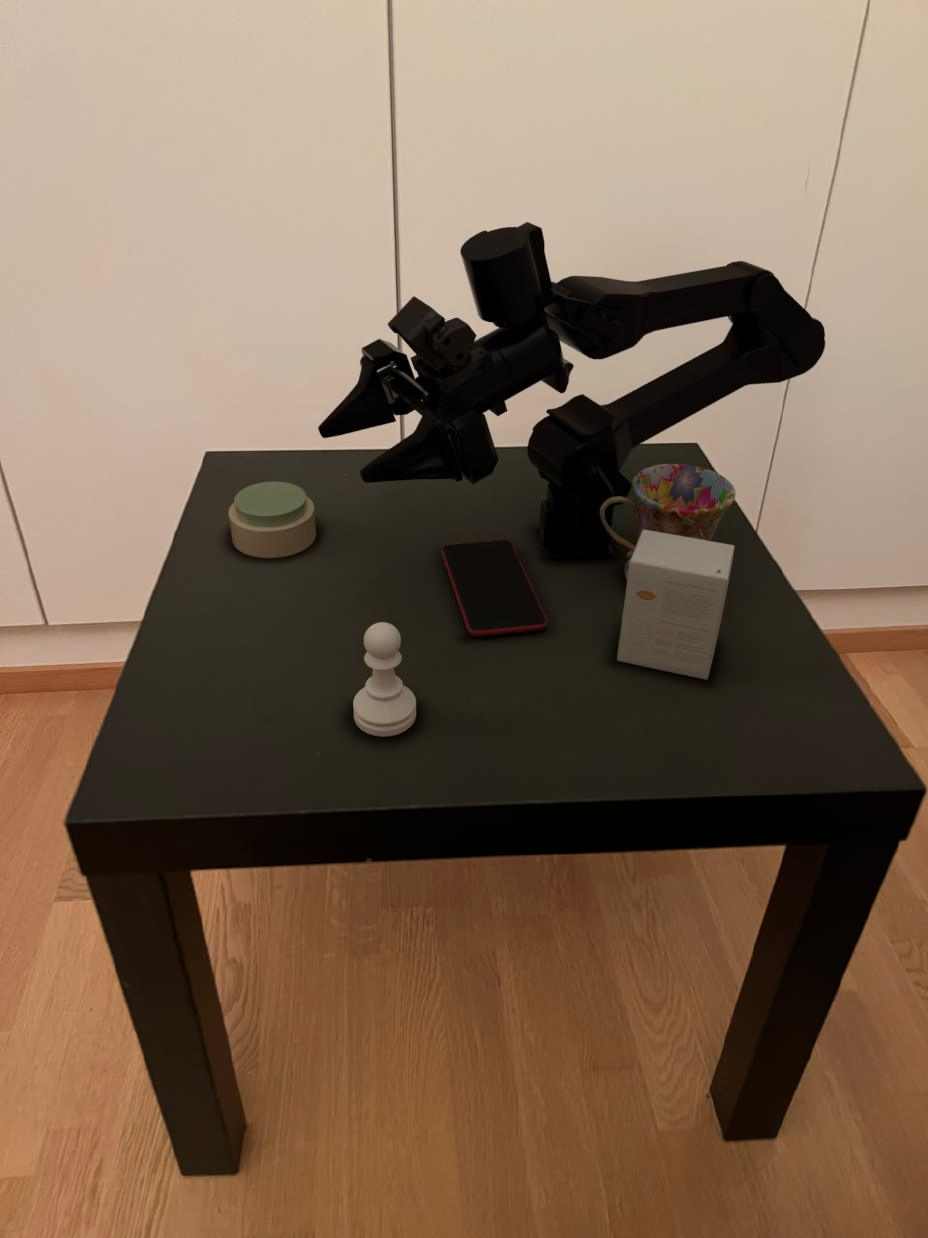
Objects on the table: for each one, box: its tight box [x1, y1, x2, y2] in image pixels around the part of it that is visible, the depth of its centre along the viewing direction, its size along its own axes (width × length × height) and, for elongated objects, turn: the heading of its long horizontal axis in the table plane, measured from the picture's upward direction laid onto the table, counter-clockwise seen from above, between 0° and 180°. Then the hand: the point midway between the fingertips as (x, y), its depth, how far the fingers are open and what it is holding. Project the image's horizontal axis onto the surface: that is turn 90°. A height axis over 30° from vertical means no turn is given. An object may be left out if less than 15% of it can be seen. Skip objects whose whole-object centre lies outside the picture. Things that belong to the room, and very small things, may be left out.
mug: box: [600, 463, 736, 580], centre depth 90 cm, size 12×9×11 cm
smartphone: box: [440, 539, 548, 638], centre depth 91 cm, size 7×1×15 cm
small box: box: [616, 530, 735, 681], centre depth 80 cm, size 8×6×10 cm
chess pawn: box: [352, 621, 417, 738], centre depth 73 cm, size 5×5×9 cm
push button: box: [228, 481, 317, 559], centre depth 97 cm, size 9×9×4 cm
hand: (340, 454), depth 79 cm, fingers open, 9 cm apart
